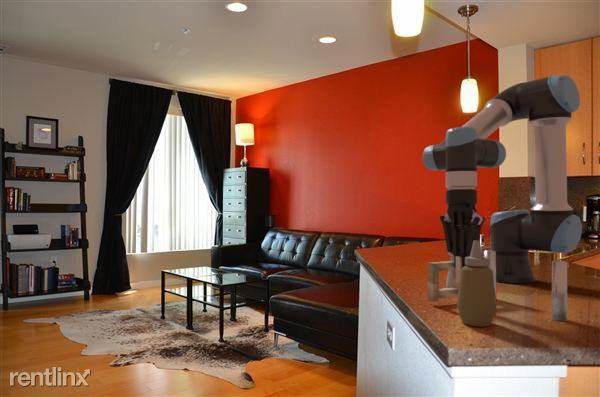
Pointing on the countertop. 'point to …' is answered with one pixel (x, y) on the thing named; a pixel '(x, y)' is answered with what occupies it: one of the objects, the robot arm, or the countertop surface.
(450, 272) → the salt shaker
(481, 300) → the squeeze bottle
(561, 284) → the gateposts
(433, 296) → the gate
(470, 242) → the robot arm
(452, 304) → the countertop surface
